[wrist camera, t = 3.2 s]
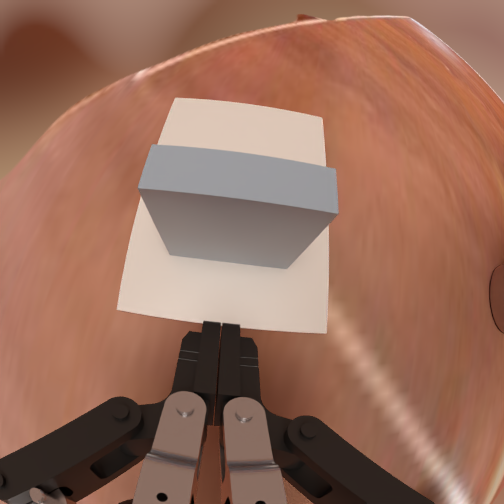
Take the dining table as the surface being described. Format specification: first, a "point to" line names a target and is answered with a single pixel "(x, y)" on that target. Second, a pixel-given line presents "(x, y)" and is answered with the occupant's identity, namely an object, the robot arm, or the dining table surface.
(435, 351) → the dining table surface
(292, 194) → the tile
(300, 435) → the robot arm
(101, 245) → the dining table surface
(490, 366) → the dining table surface
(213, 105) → the board
